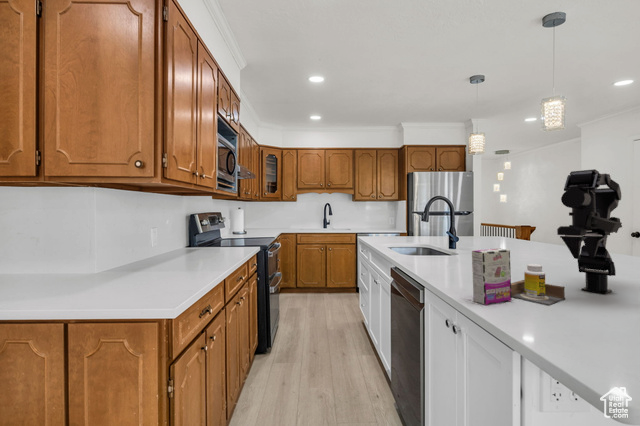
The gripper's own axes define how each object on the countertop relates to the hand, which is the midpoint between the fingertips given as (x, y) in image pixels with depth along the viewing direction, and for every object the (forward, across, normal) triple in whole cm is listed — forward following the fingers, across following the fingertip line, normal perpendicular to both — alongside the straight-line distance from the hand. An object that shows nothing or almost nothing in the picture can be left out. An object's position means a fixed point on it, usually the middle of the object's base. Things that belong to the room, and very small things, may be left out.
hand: (584, 258), depth 97 cm
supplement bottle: (+13, -12, +8) cm, 19 cm away
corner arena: (+13, -11, +8) cm, 19 cm away
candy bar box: (+14, -27, +13) cm, 33 cm away
